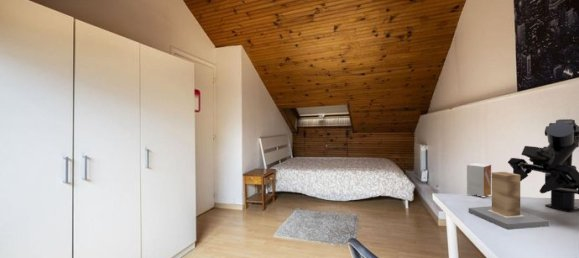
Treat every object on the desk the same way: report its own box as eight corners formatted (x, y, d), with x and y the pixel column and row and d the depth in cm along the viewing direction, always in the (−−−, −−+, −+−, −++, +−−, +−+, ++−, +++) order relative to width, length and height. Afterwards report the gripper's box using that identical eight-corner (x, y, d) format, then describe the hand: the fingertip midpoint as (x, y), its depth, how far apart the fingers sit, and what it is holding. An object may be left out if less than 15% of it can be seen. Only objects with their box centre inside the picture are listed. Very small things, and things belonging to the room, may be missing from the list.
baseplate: (504, 209, 89) (504, 204, 89) (549, 225, 75) (549, 220, 75) (468, 212, 87) (468, 207, 87) (507, 229, 73) (507, 223, 73)
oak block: (505, 209, 84) (505, 171, 83) (520, 215, 79) (520, 174, 78) (491, 210, 83) (491, 172, 83) (506, 216, 78) (506, 175, 78)
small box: (484, 198, 102) (484, 166, 101) (466, 194, 107) (466, 164, 107) (491, 194, 106) (491, 164, 106) (474, 191, 111) (474, 162, 111)
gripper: (512, 135, 91) (484, 167, 90) (575, 139, 72) (540, 178, 72) (531, 156, 92) (504, 187, 91) (598, 164, 73) (565, 204, 73)
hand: (525, 188), depth 82 cm, fingers open, 9 cm apart
